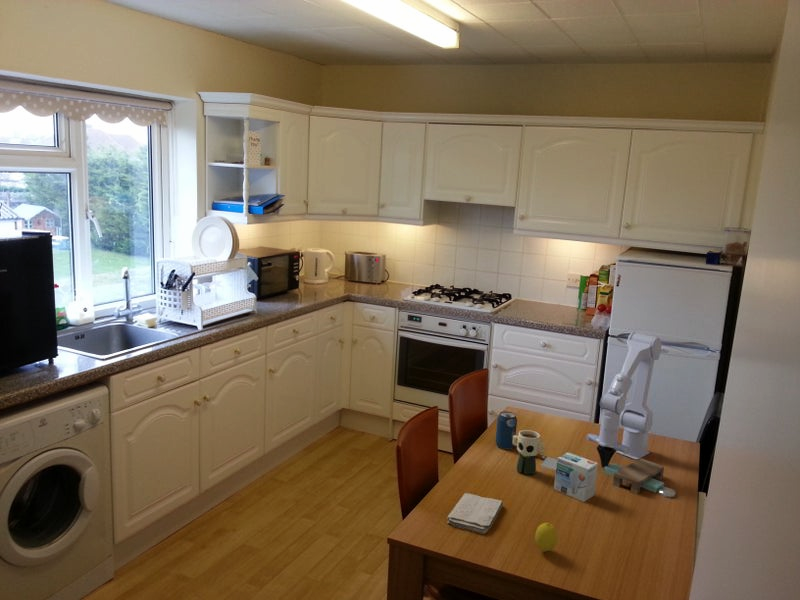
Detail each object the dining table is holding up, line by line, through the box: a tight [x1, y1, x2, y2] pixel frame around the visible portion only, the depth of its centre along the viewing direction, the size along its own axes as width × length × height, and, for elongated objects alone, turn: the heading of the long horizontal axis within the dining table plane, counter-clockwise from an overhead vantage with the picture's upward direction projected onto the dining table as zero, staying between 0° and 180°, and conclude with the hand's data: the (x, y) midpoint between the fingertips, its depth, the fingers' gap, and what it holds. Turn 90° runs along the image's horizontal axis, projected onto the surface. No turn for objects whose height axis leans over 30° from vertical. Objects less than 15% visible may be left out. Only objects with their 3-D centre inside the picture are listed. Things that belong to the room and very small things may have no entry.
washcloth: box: [446, 492, 503, 534], centre depth 186 cm, size 12×18×3 cm, turn 158°
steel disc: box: [657, 486, 676, 499], centre depth 205 cm, size 5×5×1 cm
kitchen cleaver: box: [535, 453, 557, 471], centre depth 222 cm, size 24×1×10 cm
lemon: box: [534, 522, 558, 553], centre depth 169 cm, size 6×6×8 cm
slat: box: [603, 462, 665, 494], centre depth 214 cm, size 6×18×2 cm, turn 44°
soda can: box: [495, 410, 518, 450], centre depth 234 cm, size 7×7×12 cm
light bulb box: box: [553, 451, 599, 503], centre depth 202 cm, size 11×7×11 cm, turn 47°
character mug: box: [513, 429, 546, 475], centre depth 214 cm, size 11×7×13 cm, turn 59°
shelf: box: [612, 457, 665, 495], centre depth 212 cm, size 18×8×4 cm, turn 134°
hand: (604, 466), depth 220 cm, fingers closed
